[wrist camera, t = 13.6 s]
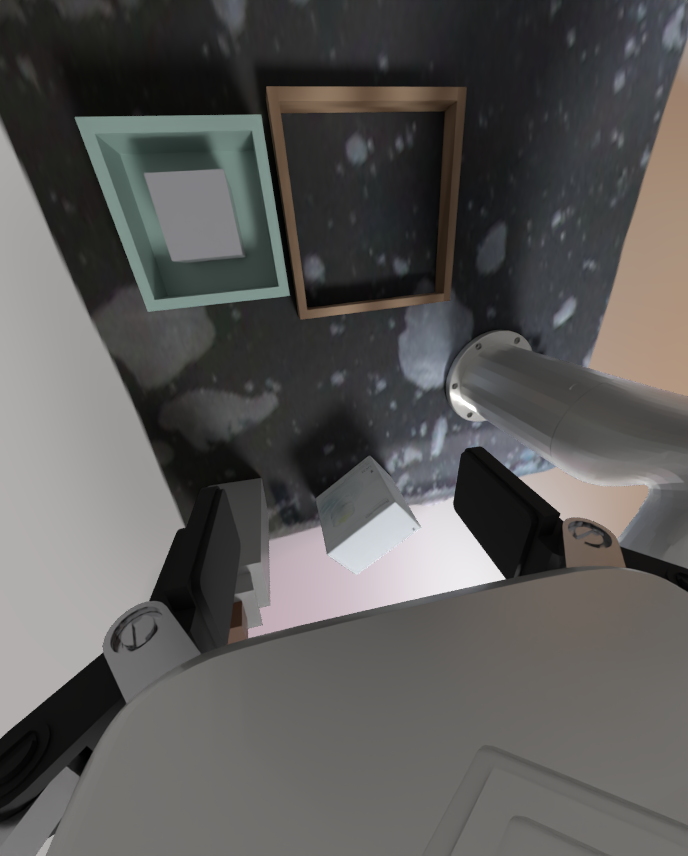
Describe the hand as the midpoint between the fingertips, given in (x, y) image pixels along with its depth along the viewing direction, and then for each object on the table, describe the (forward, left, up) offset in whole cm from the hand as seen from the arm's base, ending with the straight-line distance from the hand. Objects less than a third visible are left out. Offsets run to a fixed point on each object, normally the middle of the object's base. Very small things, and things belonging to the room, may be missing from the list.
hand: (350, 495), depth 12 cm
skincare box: (-5, +21, -26) cm, 34 cm away
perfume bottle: (+11, +19, -25) cm, 34 cm away
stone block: (+5, -12, -24) cm, 27 cm away
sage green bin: (+6, -12, -25) cm, 28 cm away
